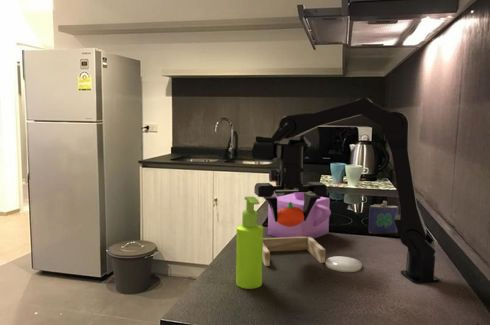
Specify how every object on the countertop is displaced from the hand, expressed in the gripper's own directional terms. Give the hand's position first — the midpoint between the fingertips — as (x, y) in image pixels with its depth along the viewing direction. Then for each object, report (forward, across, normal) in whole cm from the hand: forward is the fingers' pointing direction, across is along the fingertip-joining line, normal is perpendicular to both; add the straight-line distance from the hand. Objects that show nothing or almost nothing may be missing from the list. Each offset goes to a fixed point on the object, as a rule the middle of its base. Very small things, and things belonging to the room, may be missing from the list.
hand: (290, 221), depth 111 cm
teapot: (+10, -8, -22) cm, 25 cm away
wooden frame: (+10, 0, 0) cm, 10 cm away
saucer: (+10, -12, +8) cm, 18 cm away
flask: (+10, -37, -18) cm, 42 cm away
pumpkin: (+2, 0, 0) cm, 2 cm away
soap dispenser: (+10, +14, +16) cm, 24 cm away
